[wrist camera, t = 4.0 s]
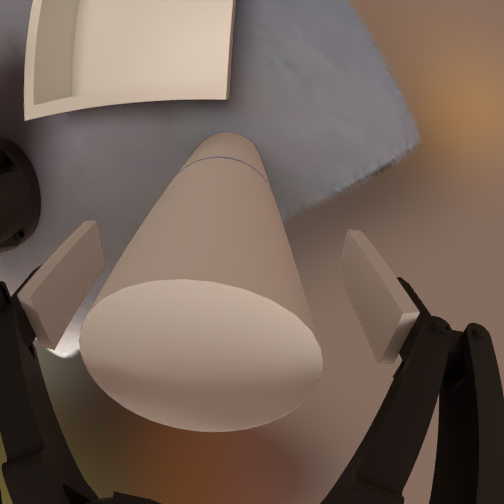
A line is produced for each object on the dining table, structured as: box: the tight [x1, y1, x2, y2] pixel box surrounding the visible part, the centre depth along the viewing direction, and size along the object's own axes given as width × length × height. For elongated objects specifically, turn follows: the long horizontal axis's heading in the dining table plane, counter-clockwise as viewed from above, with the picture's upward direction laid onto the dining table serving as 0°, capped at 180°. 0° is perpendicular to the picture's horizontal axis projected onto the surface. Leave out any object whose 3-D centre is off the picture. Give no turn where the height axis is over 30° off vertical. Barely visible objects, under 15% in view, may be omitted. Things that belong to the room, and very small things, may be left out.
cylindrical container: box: [79, 132, 323, 432], centre depth 19 cm, size 7×7×25 cm
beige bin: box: [24, 0, 236, 121], centre depth 18 cm, size 18×18×8 cm
